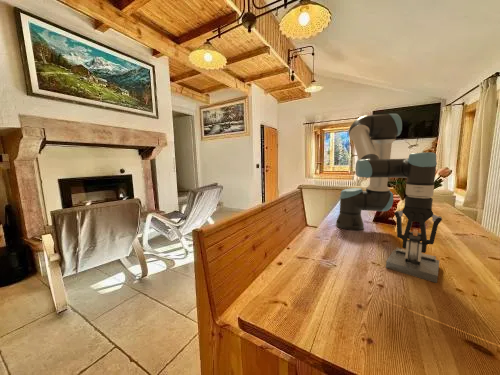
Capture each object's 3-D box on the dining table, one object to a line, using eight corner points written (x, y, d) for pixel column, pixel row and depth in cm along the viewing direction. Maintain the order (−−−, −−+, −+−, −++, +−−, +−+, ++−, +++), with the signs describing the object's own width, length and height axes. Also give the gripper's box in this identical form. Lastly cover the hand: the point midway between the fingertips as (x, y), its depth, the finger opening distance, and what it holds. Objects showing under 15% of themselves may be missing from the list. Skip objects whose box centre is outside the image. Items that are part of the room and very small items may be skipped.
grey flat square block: (385, 267, 75) (386, 257, 74) (393, 255, 84) (394, 245, 84) (436, 283, 65) (438, 271, 64) (438, 266, 75) (439, 256, 74)
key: (405, 262, 78) (408, 228, 76) (419, 266, 75) (423, 230, 73) (404, 268, 74) (407, 231, 72) (419, 272, 71) (423, 234, 70)
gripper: (389, 195, 74) (385, 255, 77) (450, 200, 63) (442, 270, 66) (393, 192, 80) (389, 249, 82) (450, 197, 68) (443, 262, 71)
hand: (413, 258), depth 74 cm, fingers closed on key, 3 cm apart
